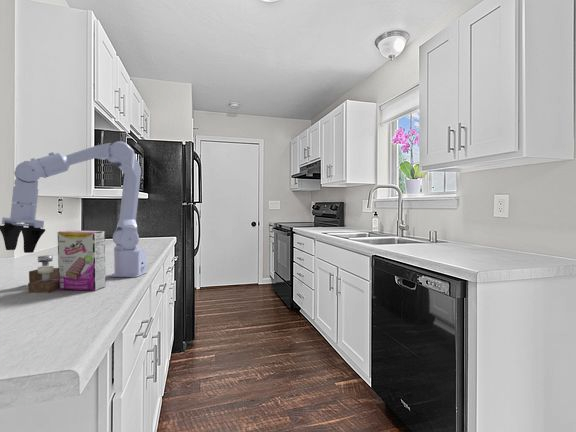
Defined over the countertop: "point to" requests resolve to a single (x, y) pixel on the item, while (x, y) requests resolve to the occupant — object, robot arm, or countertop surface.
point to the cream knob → (45, 272)
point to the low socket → (43, 286)
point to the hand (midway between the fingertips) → (19, 251)
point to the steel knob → (45, 259)
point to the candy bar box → (81, 260)
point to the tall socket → (36, 276)
